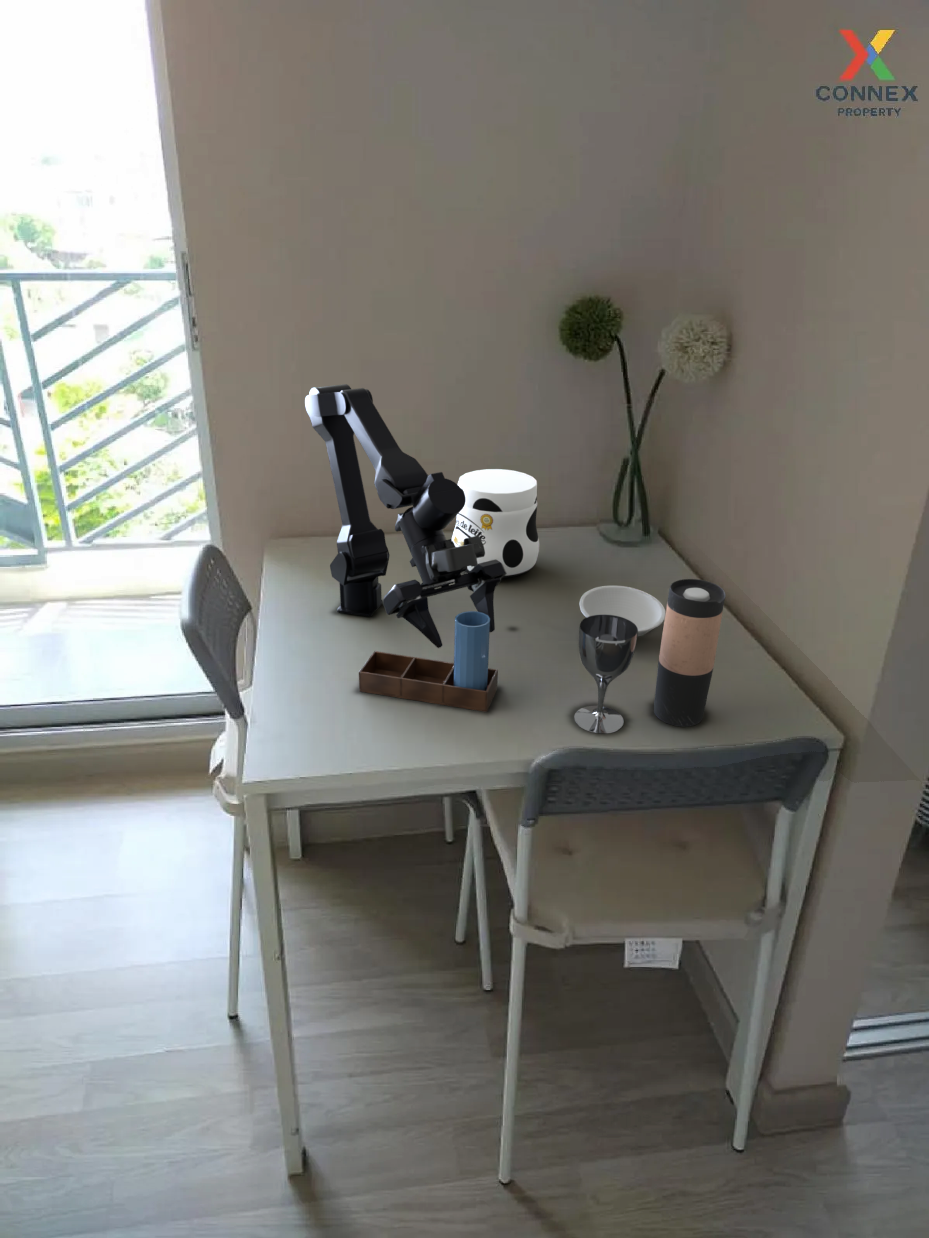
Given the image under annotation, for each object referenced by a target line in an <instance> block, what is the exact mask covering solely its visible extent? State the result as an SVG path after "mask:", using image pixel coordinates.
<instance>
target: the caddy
mask: <svg viewBox="0 0 929 1238" xmlns="http://www.w3.org/2000/svg"><path fill="white" fill-rule="evenodd" d="M498 681H499V669H496V668H490V667H488V687H487V690H486V691H483V690H476V689H470V688H464V687H457V686H454V662H450V661H443V660H438V659H437V660H436V659H430V658H425V657H424V658H423V657H417V656H411V655H404V654H396V653H390V652H384V651H377V650H374V651H373V652H372V654H370V656H369V657H368V658H367V660H366V661H365V663H364V664H363V666H362V667H361V668H360V669H359V671H358V687H359V688H358V690H359V692H362V693H367V694H372V695H373V694H374V695H380V696H385V697H393V698H397V699H403V700H404V699H405V700H410V701H417V702H423V703H427V704H428V703H430V704H434V705H440V706H448V707H454V708H460V709H466V710H473V711H478V712H484V713H487V712H488V711H489V709H490V706H491V704H492V702H493V699H494V697H495V695H496V693H497V690H498Z"/></svg>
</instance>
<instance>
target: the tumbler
mask: <svg viewBox="0 0 929 1238" xmlns="http://www.w3.org/2000/svg"><path fill="white" fill-rule="evenodd" d="M490 633H491V632H490V618H489V616H488V615H486V614H484V613H481V612H478V611H477V610H476V611H475V610H469V611H462V612H460V613H458V614H456V615H455V617H454V640H453V641H454V643H453V644H454V646H453V648H454V651H453V663H454V686H457V687H464V688H470V689H476V690H483V691H486V690H487V687H488V668H489V656H490Z"/></svg>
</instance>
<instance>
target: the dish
mask: <svg viewBox="0 0 929 1238" xmlns="http://www.w3.org/2000/svg"><path fill="white" fill-rule="evenodd" d="M578 604H579V609H580V612H581V613H582V615H583V616H584V617H585V618H587V617H589V616H593V615H615V616H619V617H623V618H625V619H628V620H630V621H631V622H633V623H634V624H635V625H636V626H637V628H638V636H637V638H638V637H641V636H644V635H646V634H648V633H650V632H651V631H652V630H654V629H656V628H658V627H659V626H661V625H662V624H663V623H664V621H665V614H666V609H665V607H664V605H663V604H662V602H661V601H660V600H659V599H657V598H656V597H655V596H653V595H652V594H650V593H647V592H646V591H644V590H640V589H638V588H636V587H635V588H634V587H632V586H631V587H630V586H626V585H625V586H624V585H603V586H602V585H601V586H596V587H594V588H591V589H589V590H587V591H585V592H584V593H583V594H582V596H581V597H580V599H579V603H578Z"/></svg>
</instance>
